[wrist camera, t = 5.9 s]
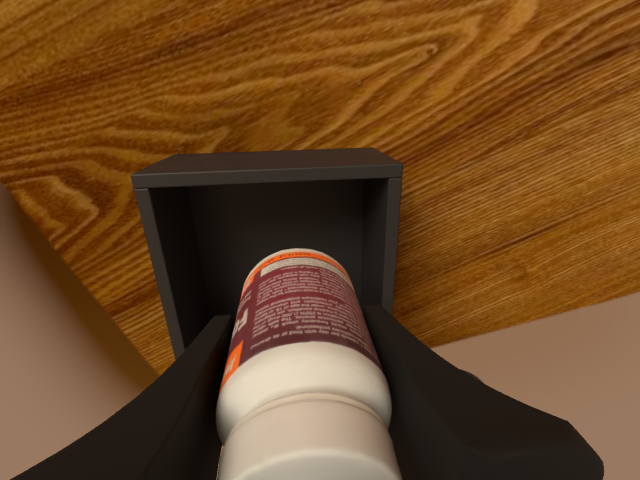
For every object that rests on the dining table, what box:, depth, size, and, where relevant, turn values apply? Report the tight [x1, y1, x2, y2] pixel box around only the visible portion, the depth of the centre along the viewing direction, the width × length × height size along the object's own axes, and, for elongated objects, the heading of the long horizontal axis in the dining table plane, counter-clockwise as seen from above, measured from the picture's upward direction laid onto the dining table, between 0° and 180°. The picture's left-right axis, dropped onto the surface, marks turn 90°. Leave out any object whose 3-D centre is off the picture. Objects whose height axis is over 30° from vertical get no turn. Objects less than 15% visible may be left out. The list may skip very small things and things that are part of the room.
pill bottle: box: [216, 248, 402, 480], centre depth 11 cm, size 5×5×8 cm
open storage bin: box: [131, 148, 403, 360], centre depth 18 cm, size 11×11×6 cm
